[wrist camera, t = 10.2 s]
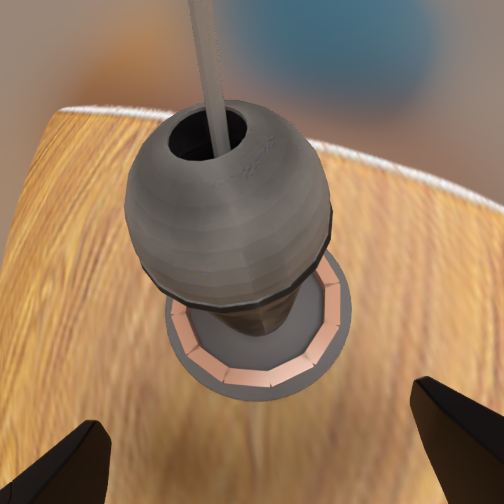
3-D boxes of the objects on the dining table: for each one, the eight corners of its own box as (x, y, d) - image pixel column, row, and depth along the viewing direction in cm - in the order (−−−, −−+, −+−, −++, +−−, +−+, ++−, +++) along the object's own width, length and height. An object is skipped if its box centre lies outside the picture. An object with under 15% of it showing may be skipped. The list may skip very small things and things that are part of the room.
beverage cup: (188, 335, 21) (-66, 104, 3) (226, 244, 24) (130, -45, 6) (290, 371, 19) (361, 74, 1) (322, 271, 22) (380, -54, 4)
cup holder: (346, 404, 19) (352, 405, 17) (156, 387, 20) (146, 386, 19) (347, 229, 24) (351, 217, 22) (184, 224, 26) (178, 212, 24)
